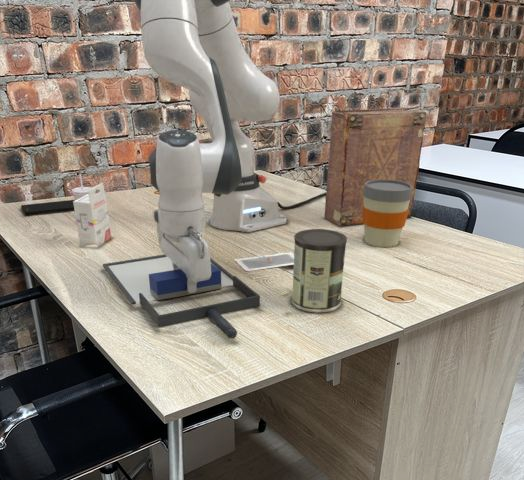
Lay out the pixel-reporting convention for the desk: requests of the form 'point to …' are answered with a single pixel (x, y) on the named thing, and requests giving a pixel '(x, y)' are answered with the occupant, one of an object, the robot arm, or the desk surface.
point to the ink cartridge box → (92, 217)
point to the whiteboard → (147, 275)
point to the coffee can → (318, 270)
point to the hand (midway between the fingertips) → (185, 286)
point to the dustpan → (207, 310)
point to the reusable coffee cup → (385, 211)
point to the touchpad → (266, 261)
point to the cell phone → (48, 207)
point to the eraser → (180, 283)
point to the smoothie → (80, 190)
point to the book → (370, 157)
